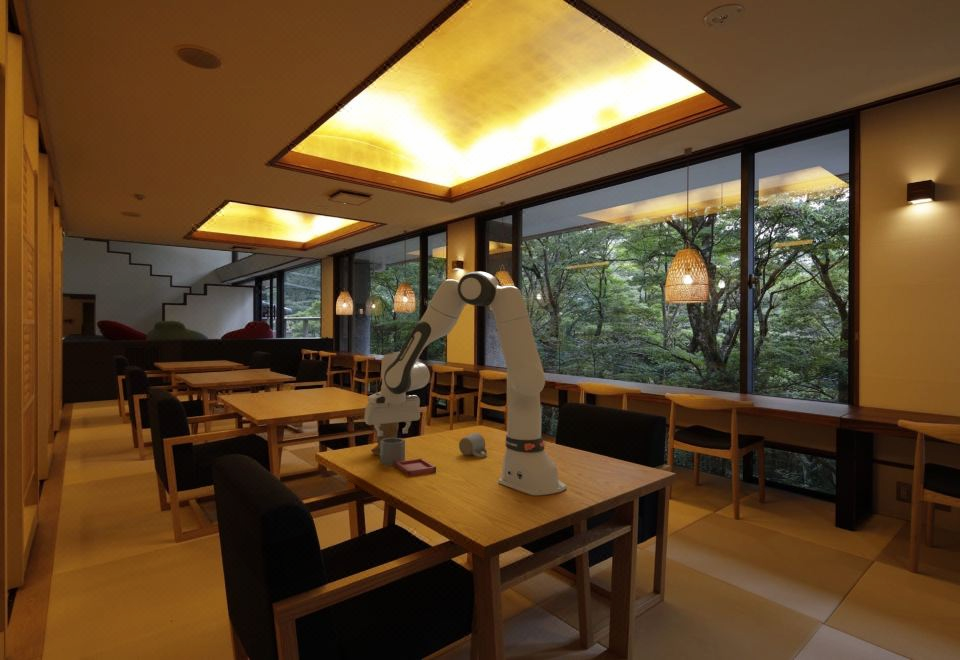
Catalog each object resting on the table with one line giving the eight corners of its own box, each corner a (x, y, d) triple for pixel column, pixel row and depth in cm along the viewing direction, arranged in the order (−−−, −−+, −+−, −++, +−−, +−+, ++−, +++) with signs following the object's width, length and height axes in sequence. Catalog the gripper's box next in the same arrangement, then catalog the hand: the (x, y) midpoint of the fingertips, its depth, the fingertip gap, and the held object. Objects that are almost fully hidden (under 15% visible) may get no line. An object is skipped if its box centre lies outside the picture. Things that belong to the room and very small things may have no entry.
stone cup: (382, 446, 198) (382, 409, 198) (408, 448, 195) (409, 411, 194) (362, 455, 184) (362, 416, 183) (390, 458, 180) (391, 418, 180)
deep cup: (407, 463, 174) (407, 441, 174) (385, 467, 169) (385, 444, 169) (398, 458, 181) (399, 436, 181) (377, 461, 177) (377, 439, 176)
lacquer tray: (436, 472, 165) (436, 467, 165) (408, 476, 160) (408, 471, 160) (421, 463, 175) (421, 458, 175) (395, 467, 170) (395, 461, 170)
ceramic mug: (457, 454, 187) (457, 434, 187) (470, 450, 194) (471, 431, 193) (478, 460, 181) (479, 439, 180) (491, 455, 187) (492, 436, 187)
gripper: (416, 393, 183) (415, 430, 183) (363, 397, 172) (362, 435, 172) (423, 395, 177) (422, 433, 178) (368, 399, 167) (368, 439, 167)
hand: (392, 434), depth 175 cm, fingers open, 8 cm apart
